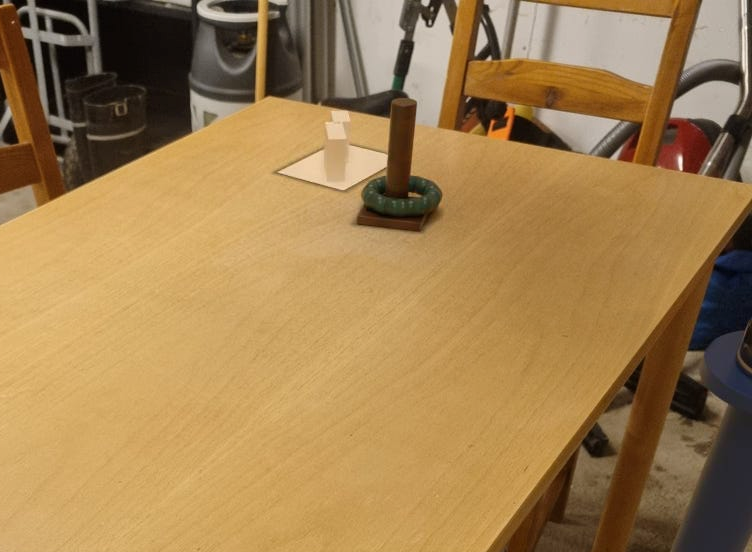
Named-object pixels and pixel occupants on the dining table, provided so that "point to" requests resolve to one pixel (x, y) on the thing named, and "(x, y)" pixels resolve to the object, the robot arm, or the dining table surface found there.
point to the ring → (402, 206)
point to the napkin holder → (338, 158)
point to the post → (397, 167)
